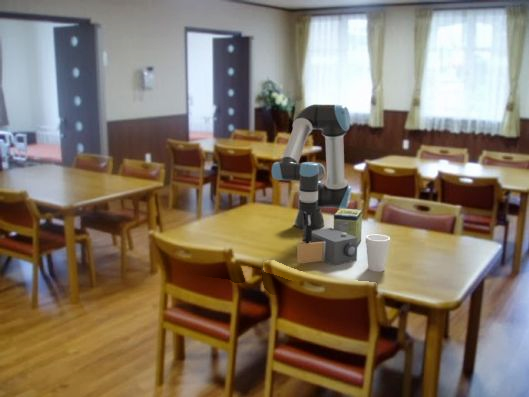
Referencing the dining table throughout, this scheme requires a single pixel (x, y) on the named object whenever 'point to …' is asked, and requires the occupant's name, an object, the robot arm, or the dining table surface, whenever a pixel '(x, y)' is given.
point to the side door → (311, 252)
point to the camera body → (336, 245)
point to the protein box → (349, 222)
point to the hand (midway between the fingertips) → (306, 255)
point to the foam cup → (377, 251)
